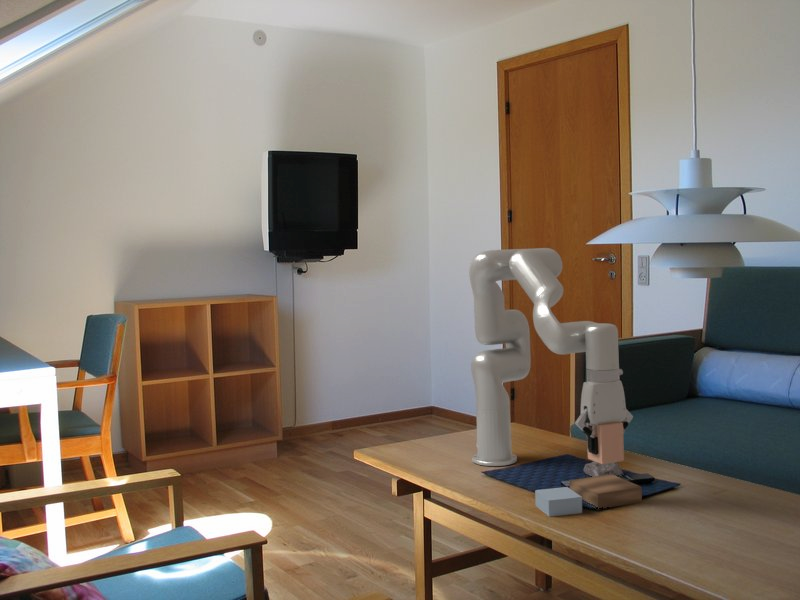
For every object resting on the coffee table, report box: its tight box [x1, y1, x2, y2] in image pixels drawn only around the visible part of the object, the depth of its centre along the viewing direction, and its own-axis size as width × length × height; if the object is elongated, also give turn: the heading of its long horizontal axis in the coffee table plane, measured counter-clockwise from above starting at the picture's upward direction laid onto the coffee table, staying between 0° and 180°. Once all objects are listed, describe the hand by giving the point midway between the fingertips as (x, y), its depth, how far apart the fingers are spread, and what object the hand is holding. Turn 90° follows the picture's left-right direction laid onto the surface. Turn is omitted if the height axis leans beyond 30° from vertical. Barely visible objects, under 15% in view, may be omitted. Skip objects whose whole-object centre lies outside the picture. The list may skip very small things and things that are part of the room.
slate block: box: [534, 486, 583, 517], centre depth 185 cm, size 8×8×4 cm
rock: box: [582, 460, 624, 477], centre depth 212 cm, size 9×11×4 cm
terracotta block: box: [586, 422, 625, 464], centre depth 191 cm, size 6×6×9 cm
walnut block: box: [568, 474, 643, 510], centre depth 192 cm, size 12×12×4 cm
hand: (605, 450), depth 191 cm, fingers closed on terracotta block, 6 cm apart
